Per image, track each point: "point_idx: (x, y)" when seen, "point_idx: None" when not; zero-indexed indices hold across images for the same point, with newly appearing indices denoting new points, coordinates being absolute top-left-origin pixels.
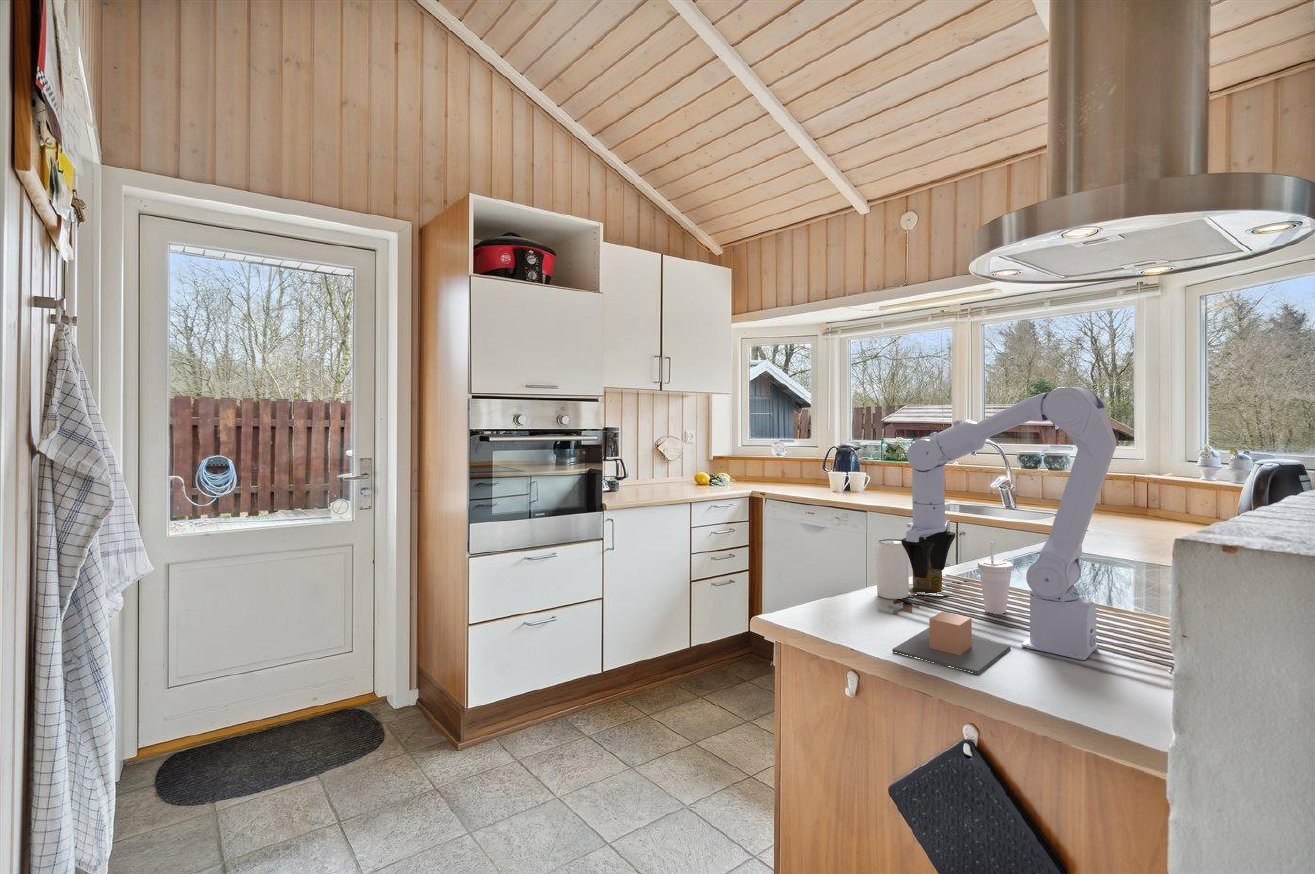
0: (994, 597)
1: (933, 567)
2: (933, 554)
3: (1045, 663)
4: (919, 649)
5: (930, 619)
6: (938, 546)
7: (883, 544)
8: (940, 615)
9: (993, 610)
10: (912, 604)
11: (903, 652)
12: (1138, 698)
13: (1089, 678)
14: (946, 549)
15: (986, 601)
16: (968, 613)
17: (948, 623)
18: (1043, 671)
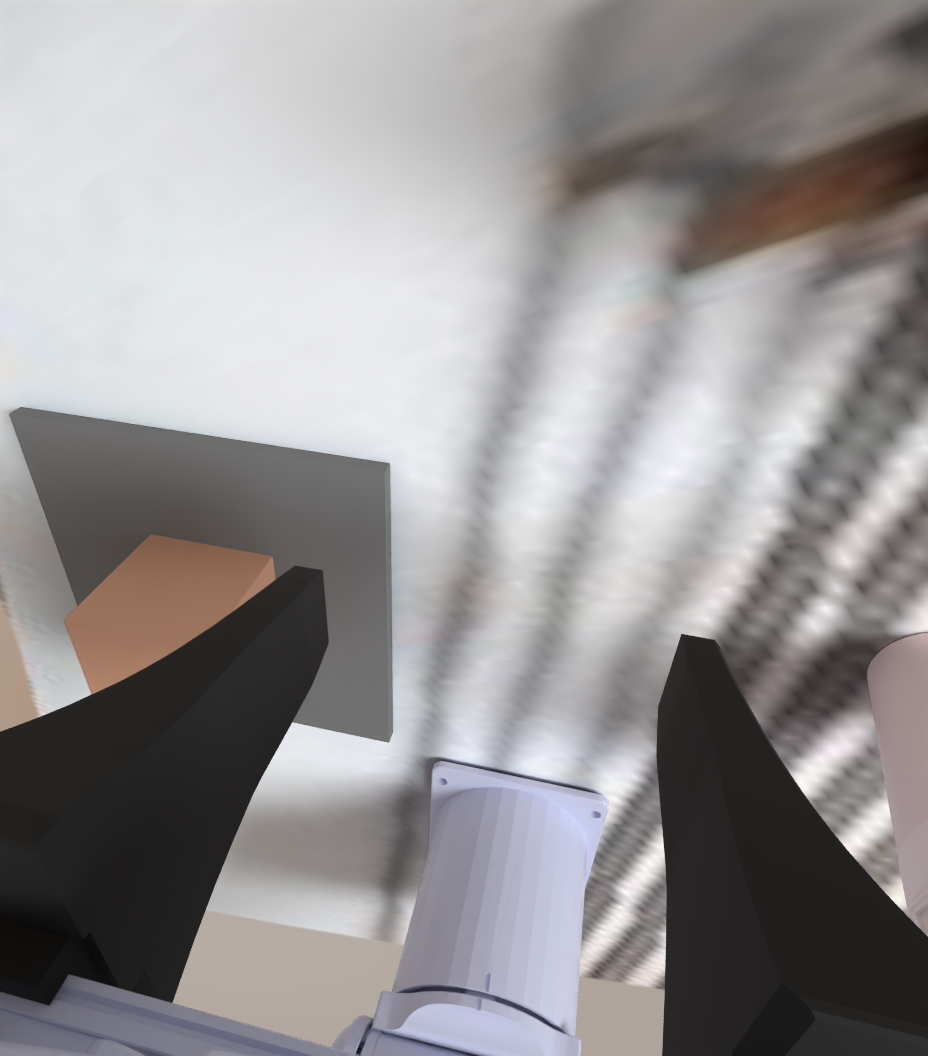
0: (881, 752)
1: (675, 654)
2: (693, 769)
3: (345, 798)
4: (102, 506)
5: (67, 622)
6: (693, 911)
7: None
8: (147, 650)
9: (872, 682)
10: (919, 203)
11: (28, 460)
12: (278, 905)
13: (318, 859)
14: (667, 936)
15: (903, 689)
16: (822, 570)
17: (90, 685)
18: (281, 792)
